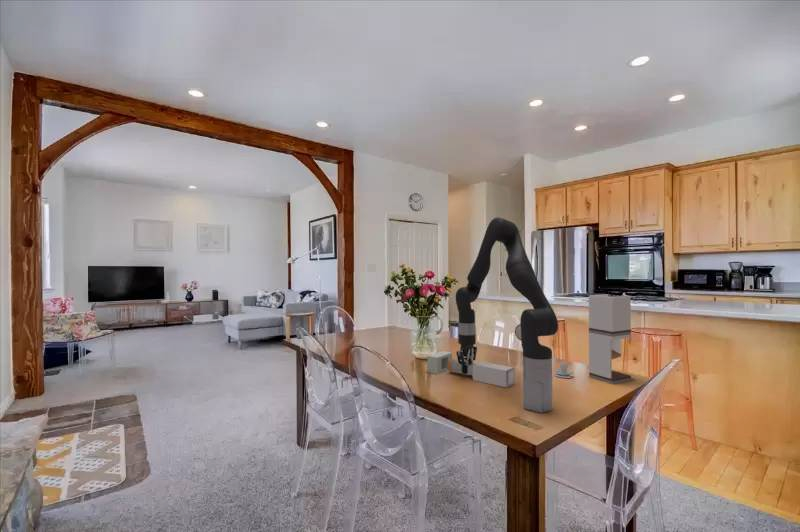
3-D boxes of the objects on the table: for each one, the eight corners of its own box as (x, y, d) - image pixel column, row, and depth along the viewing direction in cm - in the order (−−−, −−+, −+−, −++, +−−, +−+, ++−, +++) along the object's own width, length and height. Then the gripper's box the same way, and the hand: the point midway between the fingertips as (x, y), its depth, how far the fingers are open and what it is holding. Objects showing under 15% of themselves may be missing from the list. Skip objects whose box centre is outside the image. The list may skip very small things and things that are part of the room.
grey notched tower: (612, 384, 146) (612, 297, 146) (589, 377, 156) (588, 295, 156) (630, 380, 151) (630, 296, 151) (606, 373, 161) (606, 294, 161)
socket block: (437, 374, 161) (437, 357, 161) (427, 371, 165) (427, 355, 165) (452, 368, 170) (452, 352, 170) (442, 366, 174) (442, 351, 174)
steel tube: (502, 382, 145) (502, 371, 145) (447, 370, 162) (447, 360, 162) (506, 379, 149) (506, 369, 149) (452, 368, 166) (452, 359, 166)
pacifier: (571, 380, 153) (574, 376, 158) (571, 365, 152) (573, 361, 157) (553, 377, 157) (556, 373, 162) (552, 363, 156) (555, 359, 161)
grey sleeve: (507, 387, 143) (507, 371, 143) (472, 379, 153) (472, 364, 153) (514, 383, 148) (514, 367, 148) (479, 376, 158) (479, 361, 158)
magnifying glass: (533, 365, 174) (533, 323, 174) (533, 366, 172) (532, 324, 172) (515, 363, 178) (515, 322, 178) (514, 364, 177) (514, 322, 177)
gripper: (466, 336, 150) (466, 377, 150) (482, 331, 161) (482, 370, 161) (450, 334, 155) (450, 374, 155) (467, 329, 166) (467, 367, 166)
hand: (467, 372), depth 158 cm, fingers closed on steel tube, 4 cm apart
